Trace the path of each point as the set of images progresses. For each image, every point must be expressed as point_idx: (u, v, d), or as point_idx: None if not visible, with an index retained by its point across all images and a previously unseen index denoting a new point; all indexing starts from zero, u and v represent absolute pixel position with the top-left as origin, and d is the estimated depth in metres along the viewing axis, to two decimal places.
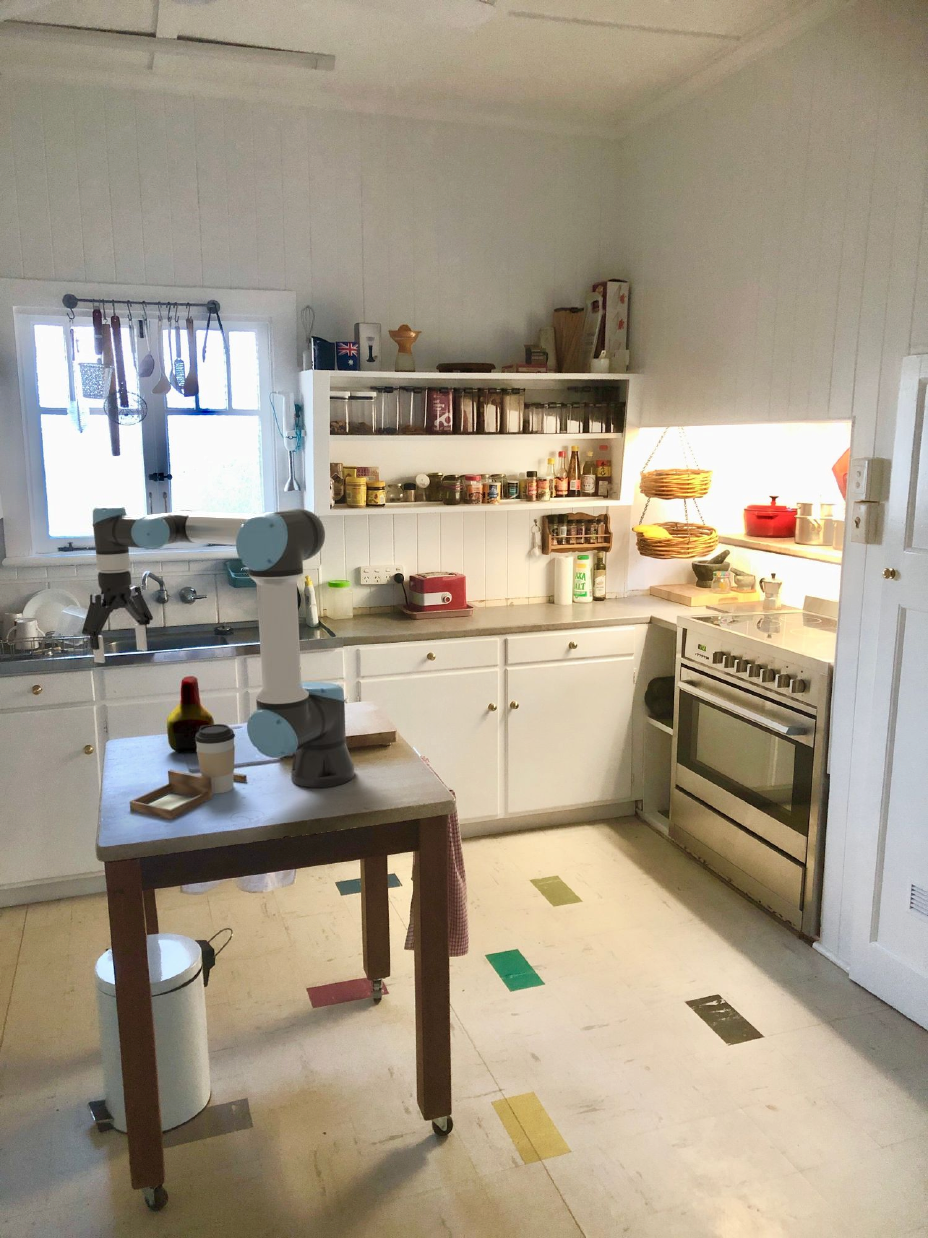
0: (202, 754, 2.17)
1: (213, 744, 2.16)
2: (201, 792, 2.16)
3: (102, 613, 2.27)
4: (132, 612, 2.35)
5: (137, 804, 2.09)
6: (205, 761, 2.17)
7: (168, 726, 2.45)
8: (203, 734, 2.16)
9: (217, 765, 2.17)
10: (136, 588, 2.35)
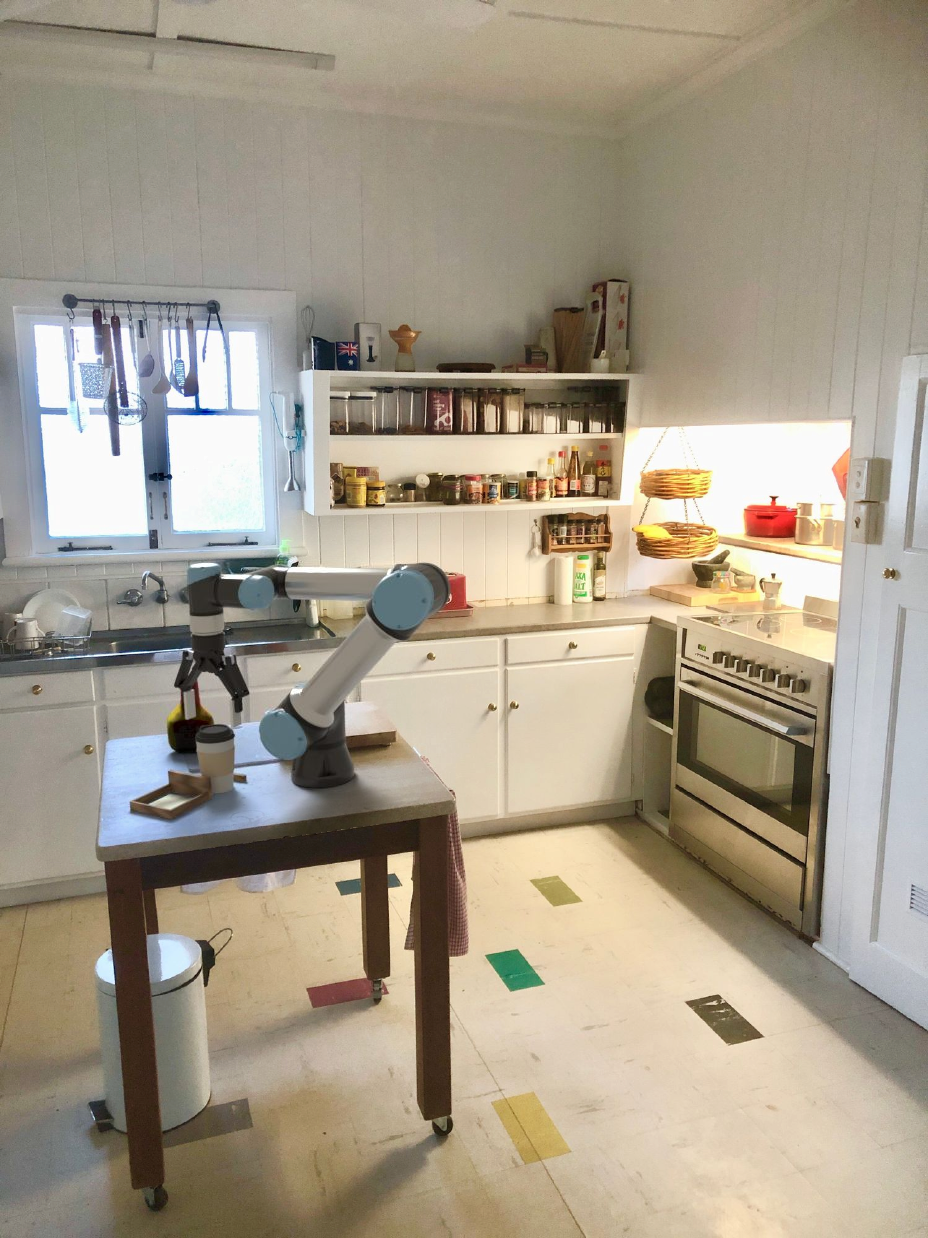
0: (202, 754, 2.17)
1: (213, 744, 2.16)
2: (201, 792, 2.16)
3: None
4: None
5: (137, 804, 2.09)
6: (205, 761, 2.17)
7: (168, 726, 2.45)
8: (203, 734, 2.16)
9: (217, 765, 2.17)
10: None
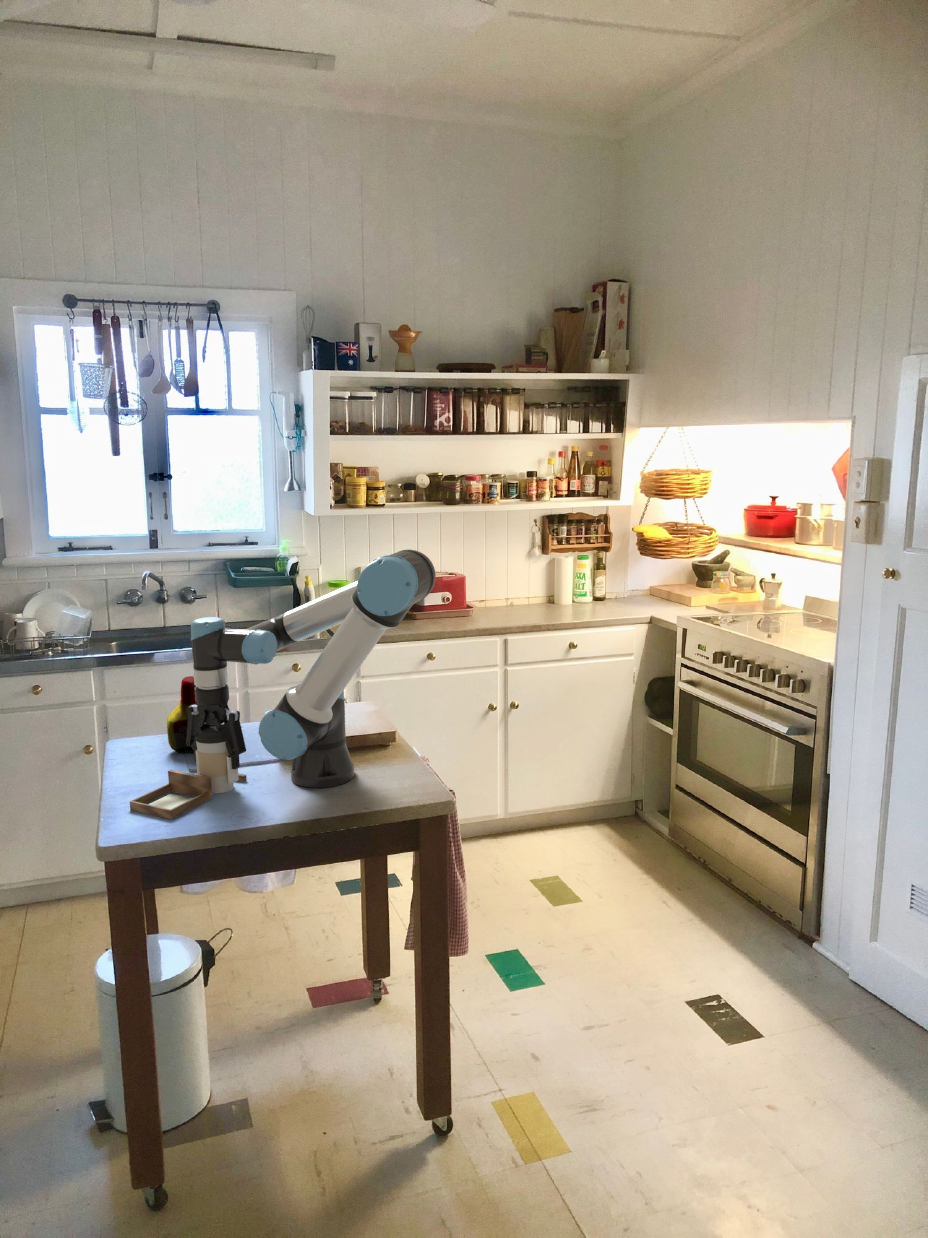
0: (202, 754, 2.17)
1: (213, 744, 2.16)
2: (201, 792, 2.16)
3: None
4: None
5: (137, 804, 2.09)
6: (205, 761, 2.17)
7: (168, 726, 2.45)
8: (203, 733, 2.16)
9: (217, 765, 2.17)
10: (230, 714, 2.15)
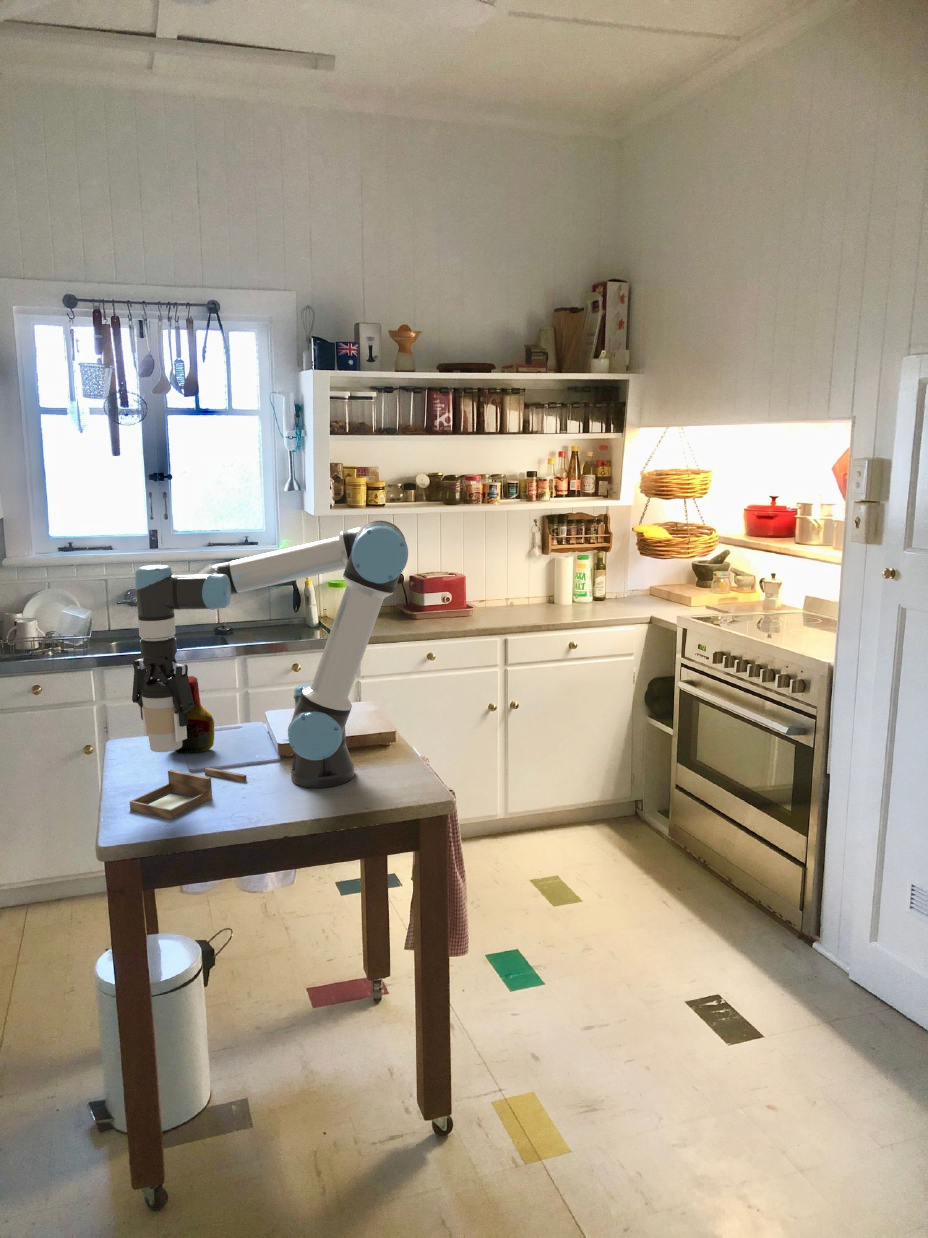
0: (148, 710, 2.05)
1: (159, 699, 2.04)
2: (201, 792, 2.16)
3: None
4: None
5: (137, 804, 2.09)
6: (151, 718, 2.05)
7: None
8: (149, 688, 2.04)
9: (164, 722, 2.05)
10: None
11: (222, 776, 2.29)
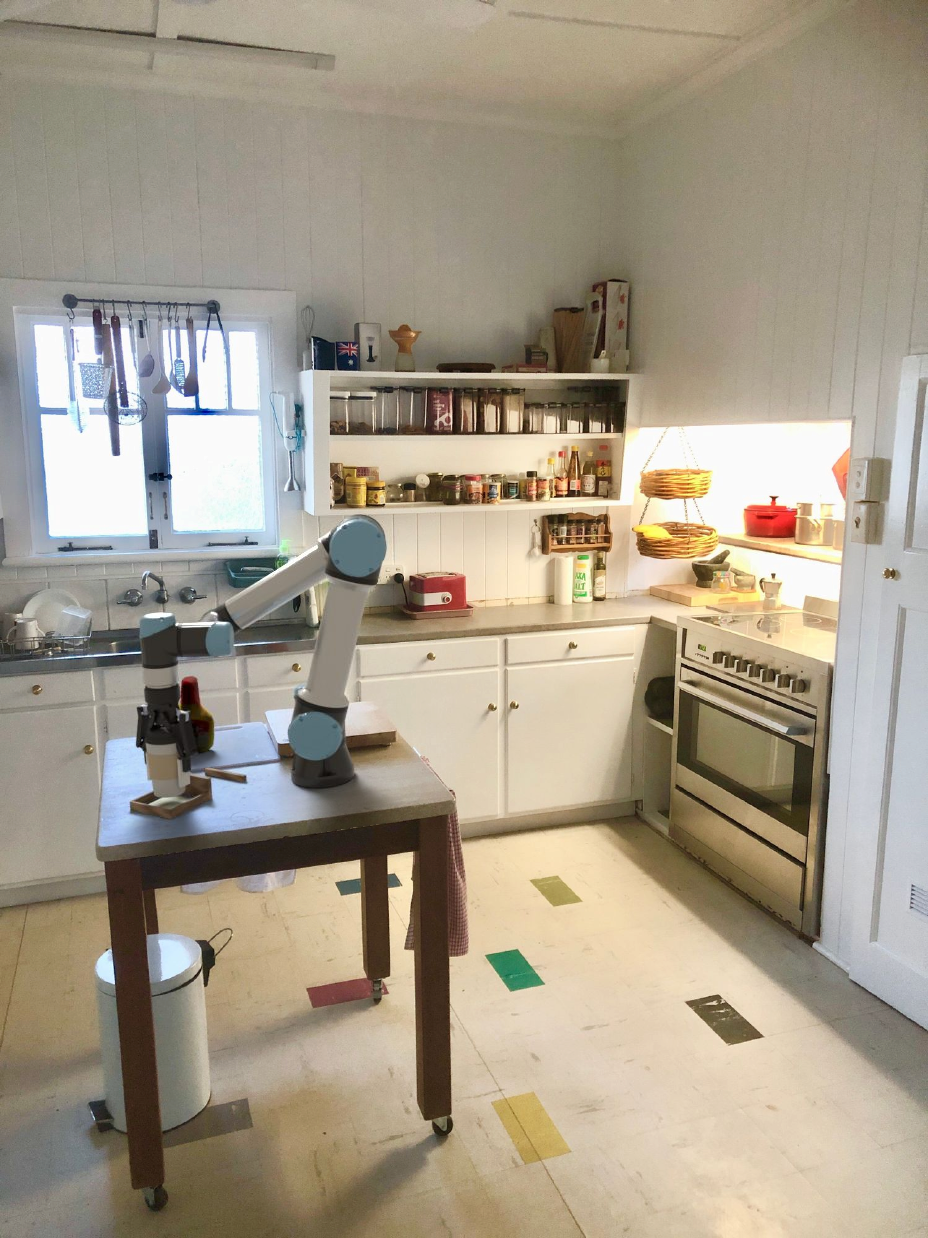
0: (151, 756, 2.07)
1: (163, 745, 2.06)
2: (201, 792, 2.16)
3: None
4: None
5: (137, 804, 2.09)
6: (154, 764, 2.07)
7: None
8: (153, 734, 2.06)
9: (167, 768, 2.07)
10: None
11: (222, 776, 2.29)
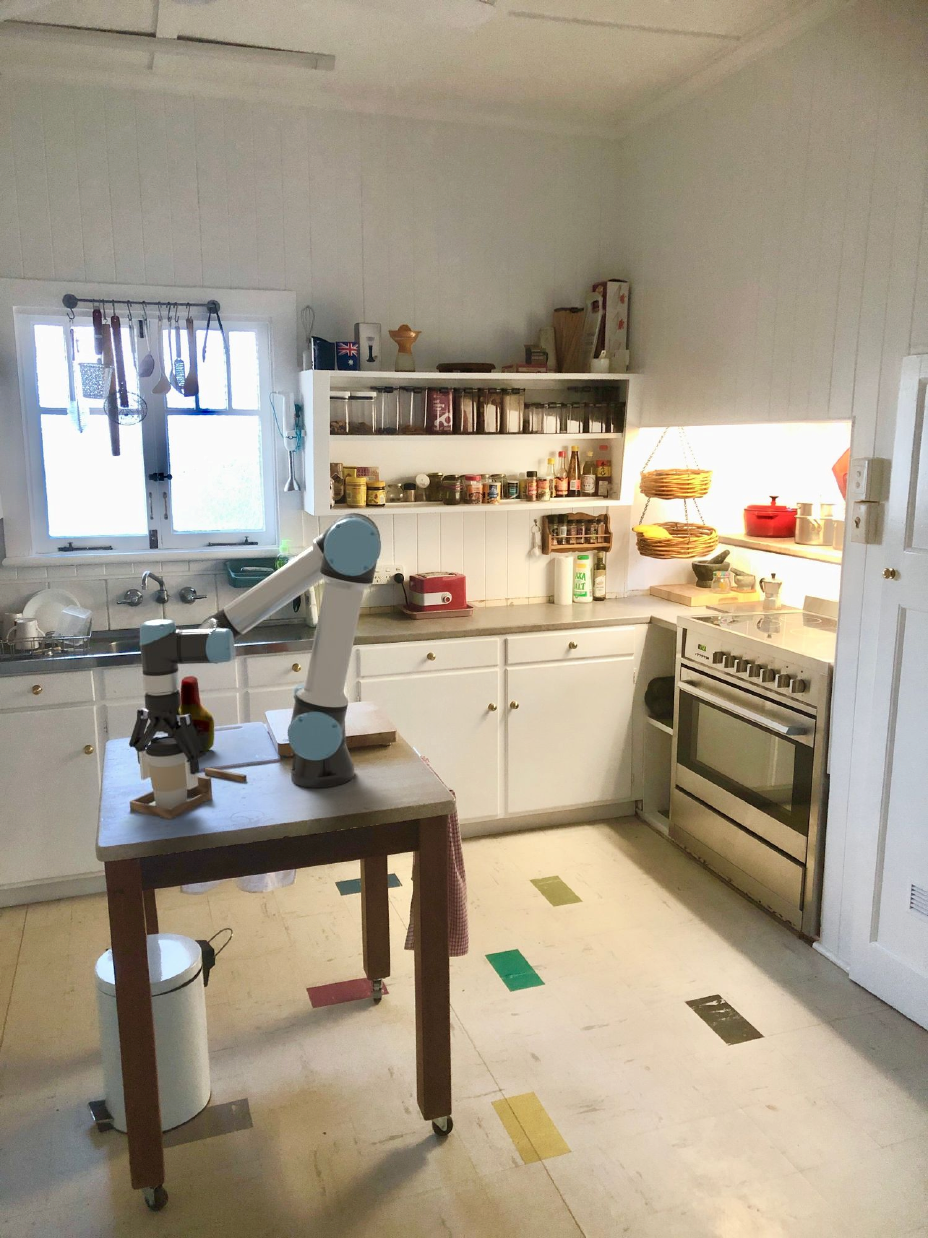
0: (153, 767, 2.07)
1: (164, 757, 2.06)
2: (201, 792, 2.16)
3: None
4: None
5: (137, 804, 2.09)
6: (156, 775, 2.08)
7: None
8: (154, 746, 2.07)
9: (169, 779, 2.08)
10: None
11: (222, 776, 2.29)
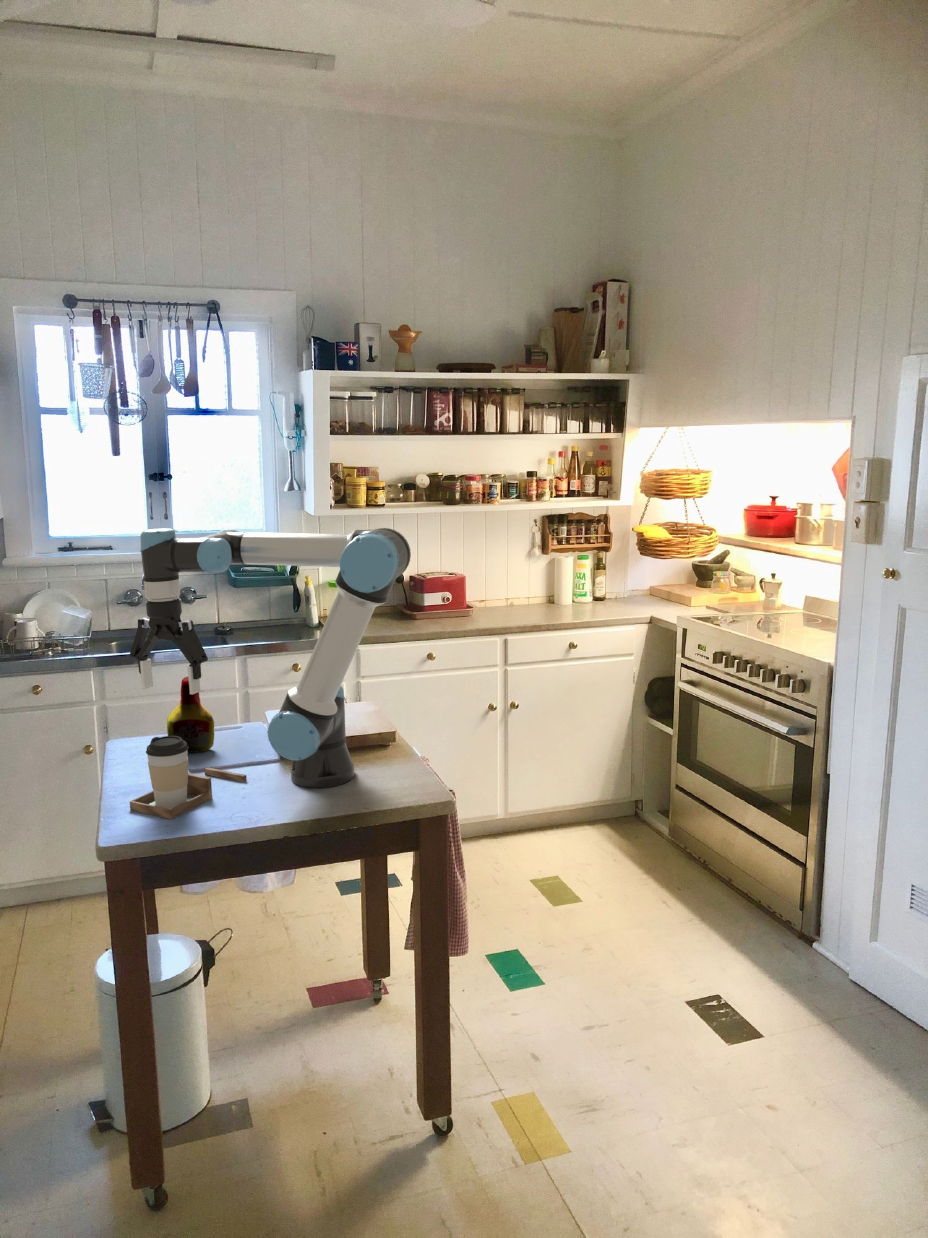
0: (153, 767, 2.07)
1: (164, 757, 2.06)
2: (201, 792, 2.16)
3: None
4: None
5: (137, 804, 2.09)
6: (156, 775, 2.08)
7: (168, 726, 2.45)
8: (154, 746, 2.07)
9: (169, 779, 2.08)
10: None
11: (222, 776, 2.29)
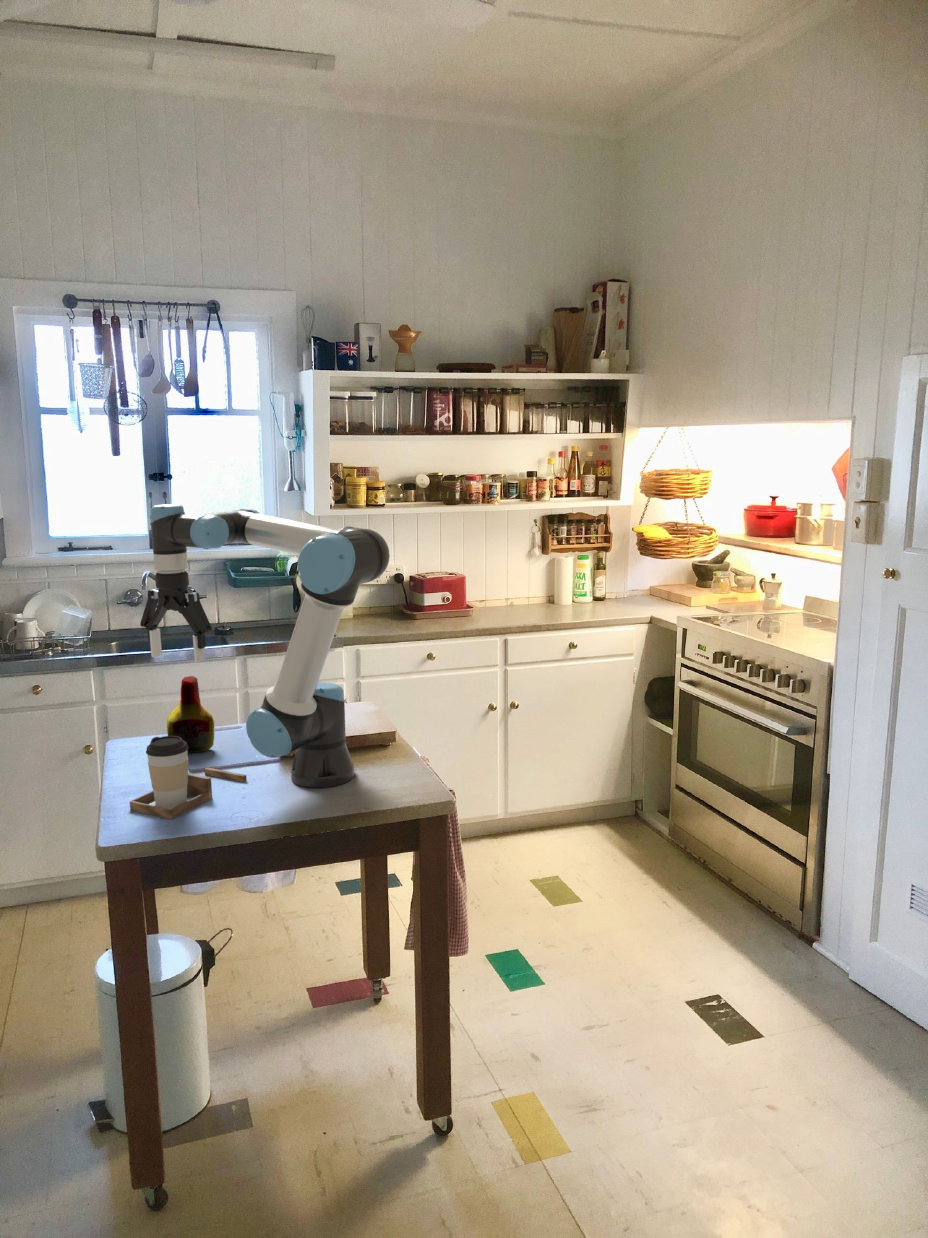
0: (153, 767, 2.07)
1: (164, 757, 2.06)
2: (201, 792, 2.16)
3: None
4: None
5: (137, 804, 2.09)
6: (156, 775, 2.08)
7: (168, 726, 2.45)
8: (154, 746, 2.07)
9: (169, 779, 2.08)
10: None
11: (222, 776, 2.29)
